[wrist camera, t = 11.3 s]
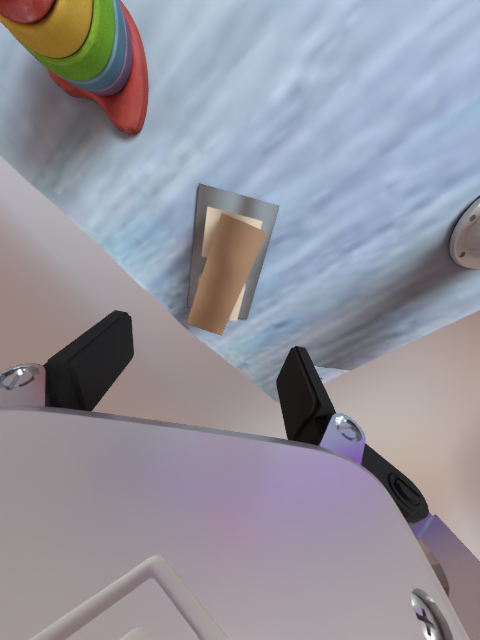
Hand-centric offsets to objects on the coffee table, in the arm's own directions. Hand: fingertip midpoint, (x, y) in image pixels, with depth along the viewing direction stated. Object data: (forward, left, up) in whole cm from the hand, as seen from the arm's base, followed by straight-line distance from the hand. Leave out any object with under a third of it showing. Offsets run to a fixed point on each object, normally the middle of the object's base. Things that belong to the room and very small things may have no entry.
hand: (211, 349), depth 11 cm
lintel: (+1, 0, -18) cm, 18 cm away
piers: (+1, 0, -24) cm, 24 cm away
